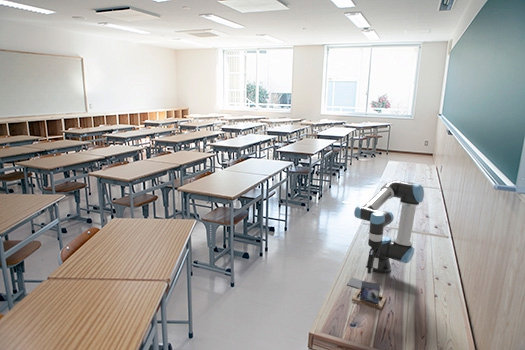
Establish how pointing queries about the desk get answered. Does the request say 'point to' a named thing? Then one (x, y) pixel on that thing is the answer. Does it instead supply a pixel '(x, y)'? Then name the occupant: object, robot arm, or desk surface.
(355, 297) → the wooden frame
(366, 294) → the small box
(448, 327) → the desk surface
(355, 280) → the mat
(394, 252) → the robot arm
